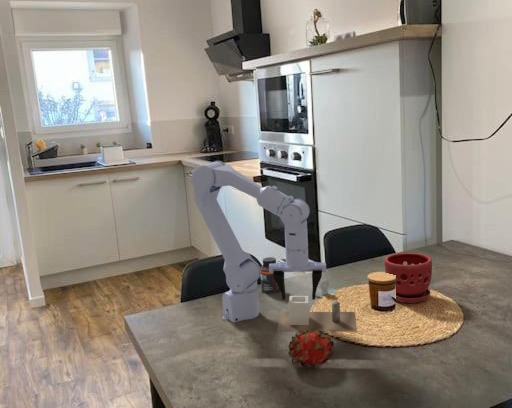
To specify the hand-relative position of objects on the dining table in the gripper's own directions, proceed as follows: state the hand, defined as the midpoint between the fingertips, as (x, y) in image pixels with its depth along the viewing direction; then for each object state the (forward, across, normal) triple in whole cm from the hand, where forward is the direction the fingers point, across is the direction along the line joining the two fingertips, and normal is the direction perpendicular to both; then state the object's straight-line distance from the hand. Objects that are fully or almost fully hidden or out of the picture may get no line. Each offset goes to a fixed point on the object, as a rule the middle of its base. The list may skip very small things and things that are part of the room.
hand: (298, 298), depth 138 cm
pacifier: (+8, +6, +20) cm, 22 cm away
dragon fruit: (+8, +4, -19) cm, 21 cm away
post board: (+8, +4, 0) cm, 9 cm away
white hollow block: (+6, 0, 0) cm, 6 cm away
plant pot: (+8, +30, +20) cm, 37 cm away
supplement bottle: (+8, -10, +23) cm, 26 cm away
